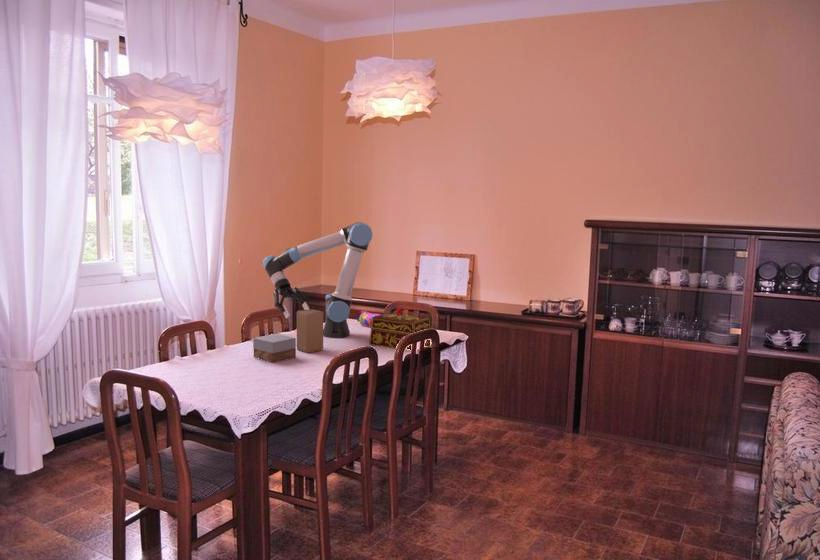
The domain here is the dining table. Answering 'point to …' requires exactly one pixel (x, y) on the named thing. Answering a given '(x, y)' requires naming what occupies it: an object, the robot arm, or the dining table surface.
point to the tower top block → (274, 343)
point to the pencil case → (366, 318)
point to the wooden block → (309, 330)
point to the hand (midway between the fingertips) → (299, 315)
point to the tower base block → (275, 355)
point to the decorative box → (395, 328)
